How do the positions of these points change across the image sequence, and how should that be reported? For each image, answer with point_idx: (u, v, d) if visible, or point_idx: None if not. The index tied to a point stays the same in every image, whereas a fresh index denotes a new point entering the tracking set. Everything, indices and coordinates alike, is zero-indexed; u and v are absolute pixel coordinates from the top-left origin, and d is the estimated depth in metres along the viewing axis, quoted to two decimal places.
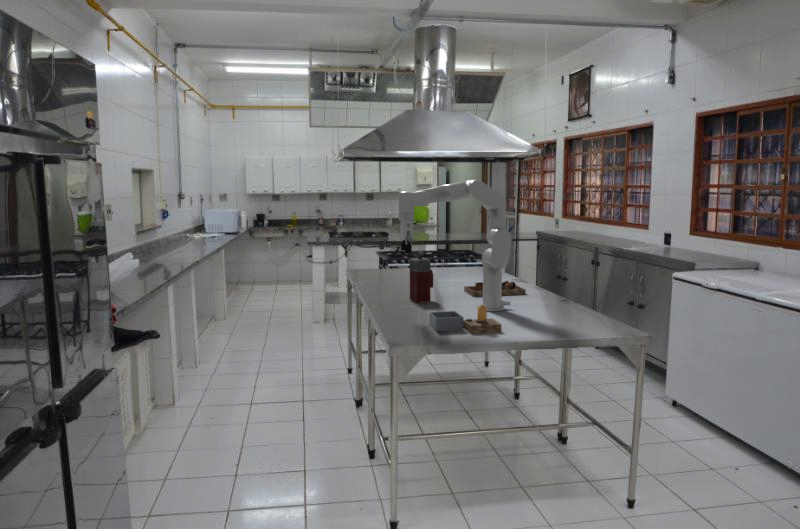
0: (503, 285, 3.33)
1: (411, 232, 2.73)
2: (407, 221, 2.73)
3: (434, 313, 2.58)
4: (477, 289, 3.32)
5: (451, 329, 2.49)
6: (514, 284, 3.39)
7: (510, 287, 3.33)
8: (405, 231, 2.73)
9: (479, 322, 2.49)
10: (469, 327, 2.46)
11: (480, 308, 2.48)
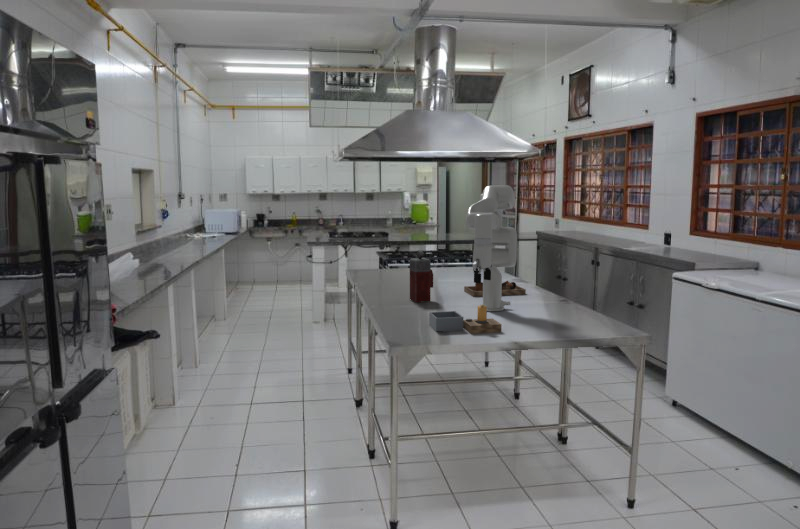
0: (504, 285, 3.32)
1: None
2: None
3: (434, 313, 2.58)
4: (477, 289, 3.32)
5: (451, 329, 2.49)
6: (514, 284, 3.38)
7: (511, 287, 3.32)
8: None
9: (479, 322, 2.49)
10: (469, 327, 2.46)
11: (480, 308, 2.48)
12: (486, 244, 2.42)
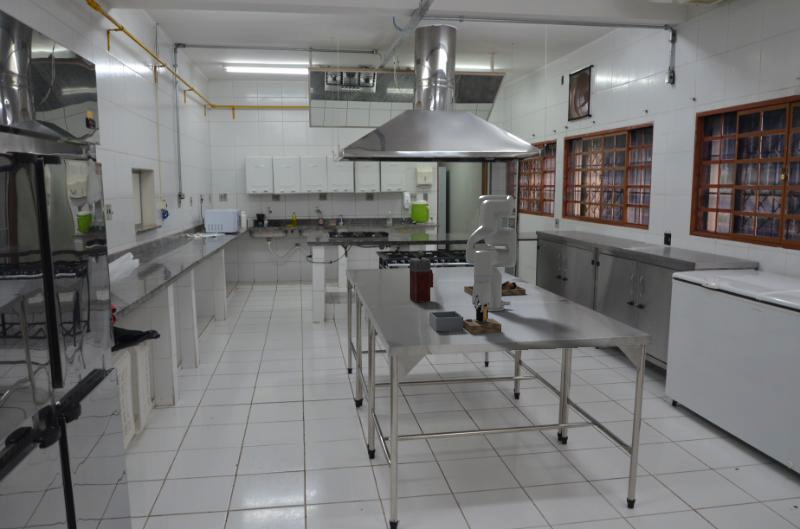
0: (504, 285, 3.32)
1: None
2: None
3: (434, 313, 2.58)
4: None
5: (451, 329, 2.49)
6: (515, 284, 3.37)
7: (511, 287, 3.32)
8: None
9: (479, 322, 2.49)
10: (469, 327, 2.46)
11: None
12: (485, 281, 2.44)
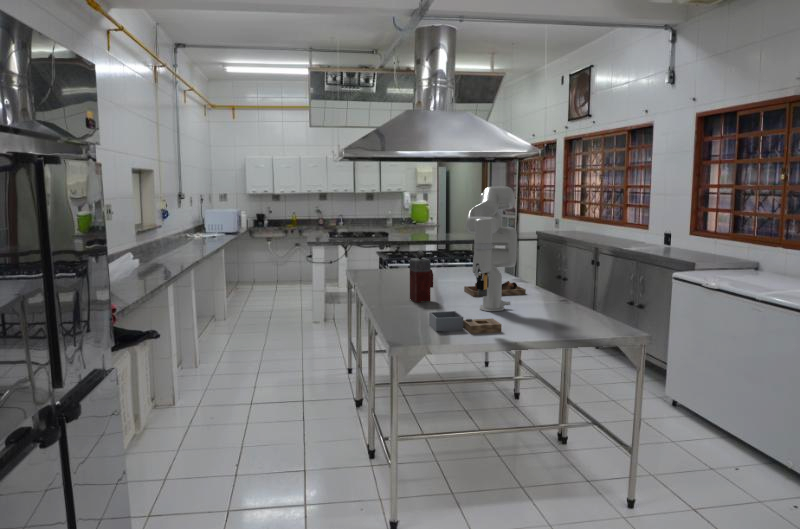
0: (504, 286, 3.31)
1: None
2: None
3: (434, 313, 2.58)
4: (477, 289, 3.32)
5: (451, 329, 2.49)
6: (515, 284, 3.37)
7: (511, 288, 3.31)
8: None
9: (480, 291, 2.47)
10: (469, 327, 2.46)
11: None
12: (486, 249, 2.42)
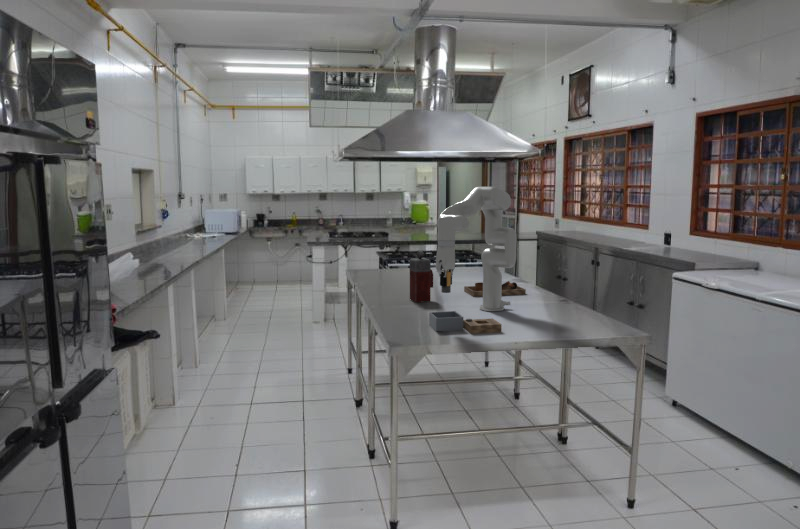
0: (505, 286, 3.31)
1: None
2: None
3: (434, 313, 2.58)
4: (477, 289, 3.32)
5: (451, 329, 2.49)
6: (515, 285, 3.37)
7: (512, 288, 3.31)
8: None
9: (443, 287, 2.50)
10: (469, 327, 2.46)
11: None
12: (449, 246, 2.46)
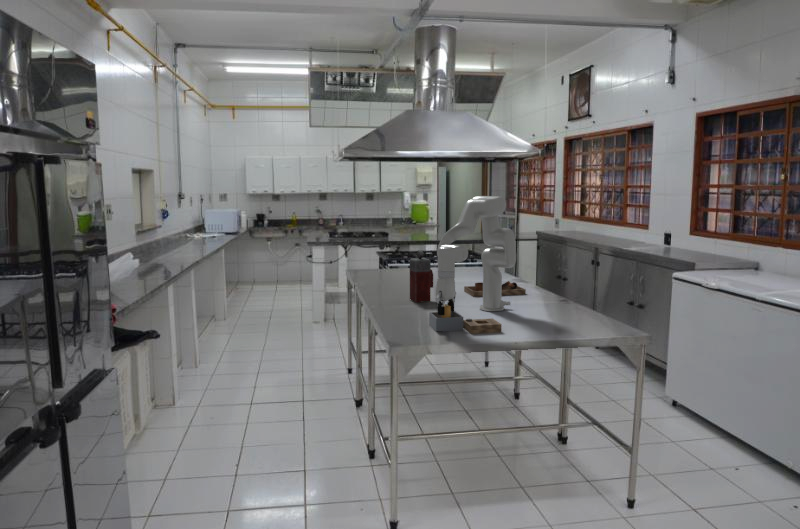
0: (505, 286, 3.31)
1: None
2: None
3: (434, 313, 2.58)
4: (477, 289, 3.32)
5: (451, 329, 2.49)
6: (516, 285, 3.37)
7: (512, 288, 3.31)
8: None
9: None
10: (469, 327, 2.46)
11: None
12: (449, 277, 2.48)
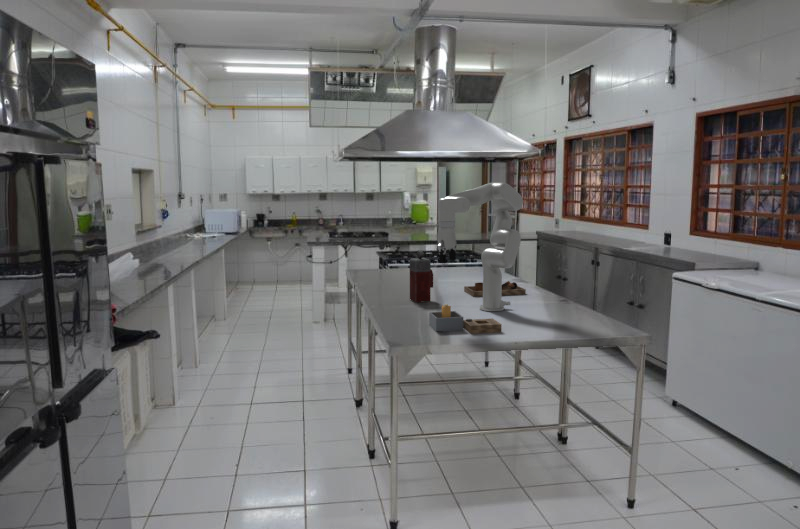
0: (505, 286, 3.31)
1: None
2: None
3: (434, 313, 2.58)
4: (476, 289, 3.32)
5: (451, 329, 2.49)
6: (516, 285, 3.37)
7: (512, 288, 3.31)
8: None
9: None
10: (469, 327, 2.46)
11: (444, 308, 2.52)
12: (450, 226, 2.59)
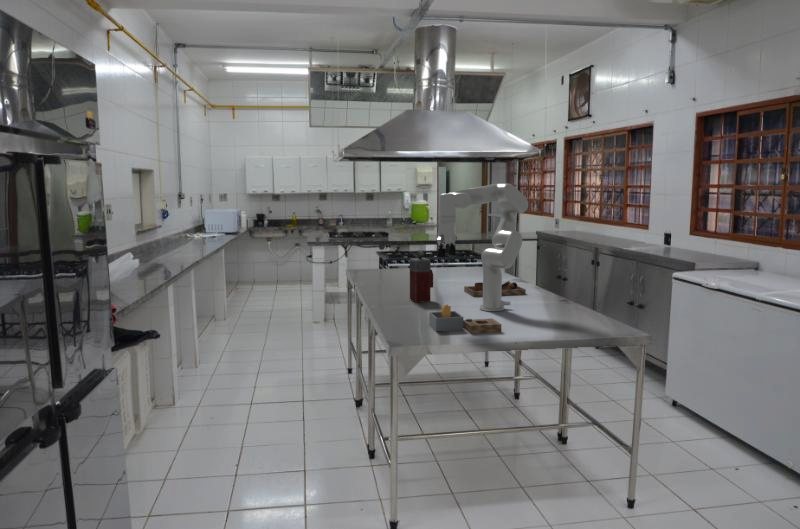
0: (505, 286, 3.31)
1: None
2: None
3: (434, 313, 2.58)
4: (476, 289, 3.31)
5: (451, 329, 2.49)
6: (516, 285, 3.37)
7: (512, 288, 3.31)
8: None
9: None
10: (469, 327, 2.46)
11: (444, 308, 2.52)
12: (450, 221, 2.63)
